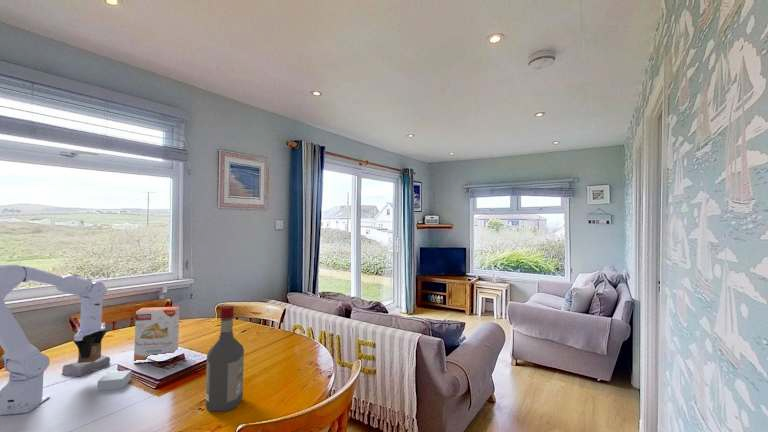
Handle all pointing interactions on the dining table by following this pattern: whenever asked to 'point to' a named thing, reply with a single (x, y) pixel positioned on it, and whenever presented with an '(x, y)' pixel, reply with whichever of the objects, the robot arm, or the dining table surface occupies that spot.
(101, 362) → the stone block
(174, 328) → the cracker box
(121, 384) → the grey-blue block
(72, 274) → the robot arm
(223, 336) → the liquor
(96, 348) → the walnut block
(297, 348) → the dining table surface
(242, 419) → the dining table surface
